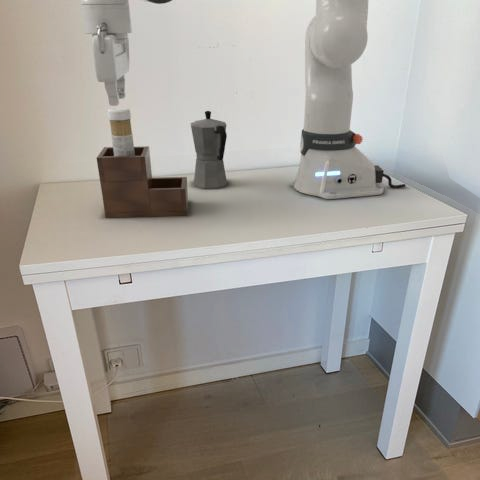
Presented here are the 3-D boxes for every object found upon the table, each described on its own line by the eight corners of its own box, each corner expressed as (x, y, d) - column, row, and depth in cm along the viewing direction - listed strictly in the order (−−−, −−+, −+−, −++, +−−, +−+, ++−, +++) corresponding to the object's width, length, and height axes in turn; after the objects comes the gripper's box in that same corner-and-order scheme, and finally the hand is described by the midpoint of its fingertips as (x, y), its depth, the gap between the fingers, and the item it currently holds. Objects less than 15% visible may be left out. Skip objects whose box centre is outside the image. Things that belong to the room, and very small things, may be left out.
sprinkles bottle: (130, 170, 112) (123, 106, 105) (140, 174, 109) (133, 108, 102) (112, 173, 110) (103, 108, 103) (122, 178, 107) (113, 111, 100)
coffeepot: (184, 180, 134) (179, 108, 124) (215, 175, 138) (212, 105, 128) (209, 195, 122) (206, 118, 113) (242, 189, 126) (242, 114, 117)
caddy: (188, 201, 118) (184, 145, 112) (187, 215, 110) (183, 155, 104) (112, 203, 118) (104, 147, 111) (105, 217, 109) (96, 157, 103)
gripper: (116, 23, 86) (127, 109, 93) (130, 22, 103) (138, 94, 110) (79, 24, 85) (93, 110, 93) (100, 22, 103) (110, 95, 110)
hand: (118, 101), depth 102 cm, fingers open, 8 cm apart
